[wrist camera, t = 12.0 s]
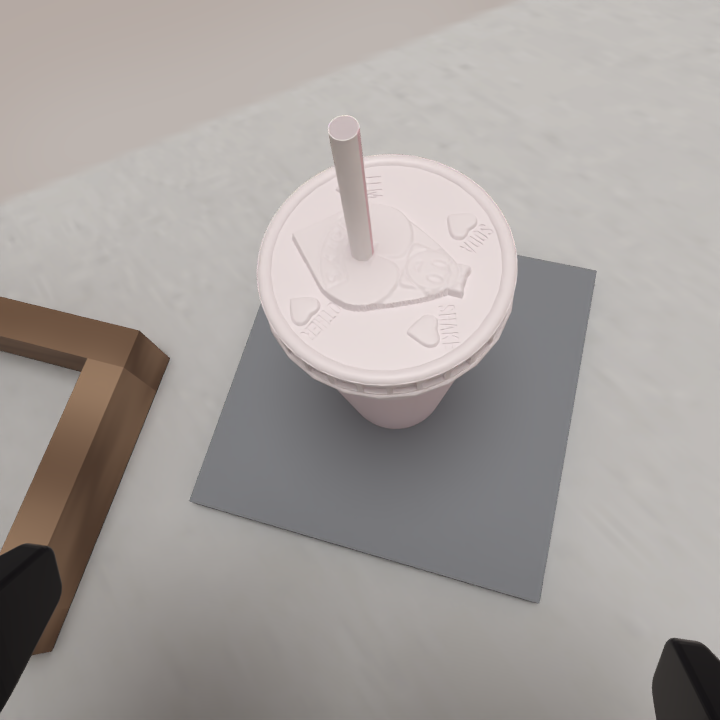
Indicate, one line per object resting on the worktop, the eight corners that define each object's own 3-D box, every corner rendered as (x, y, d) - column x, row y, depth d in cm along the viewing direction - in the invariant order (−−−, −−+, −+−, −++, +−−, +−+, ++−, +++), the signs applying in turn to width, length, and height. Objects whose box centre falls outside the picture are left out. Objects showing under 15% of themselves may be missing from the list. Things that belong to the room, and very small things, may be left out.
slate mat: (535, 602, 21) (539, 603, 20) (194, 502, 23) (189, 501, 23) (592, 277, 25) (596, 270, 24) (296, 218, 27) (294, 211, 27)
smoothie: (346, 290, 25) (272, -28, 12) (497, 332, 24) (601, 31, 11) (290, 434, 23) (129, 245, 10) (452, 487, 22) (511, 353, 9)
